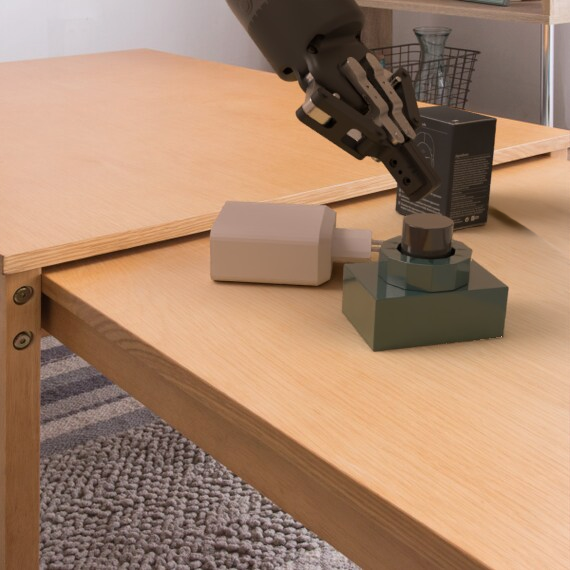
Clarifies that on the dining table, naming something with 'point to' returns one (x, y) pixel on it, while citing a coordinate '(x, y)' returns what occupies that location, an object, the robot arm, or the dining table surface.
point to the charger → (283, 243)
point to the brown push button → (427, 236)
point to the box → (455, 165)
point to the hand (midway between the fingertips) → (428, 193)
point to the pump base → (422, 299)
